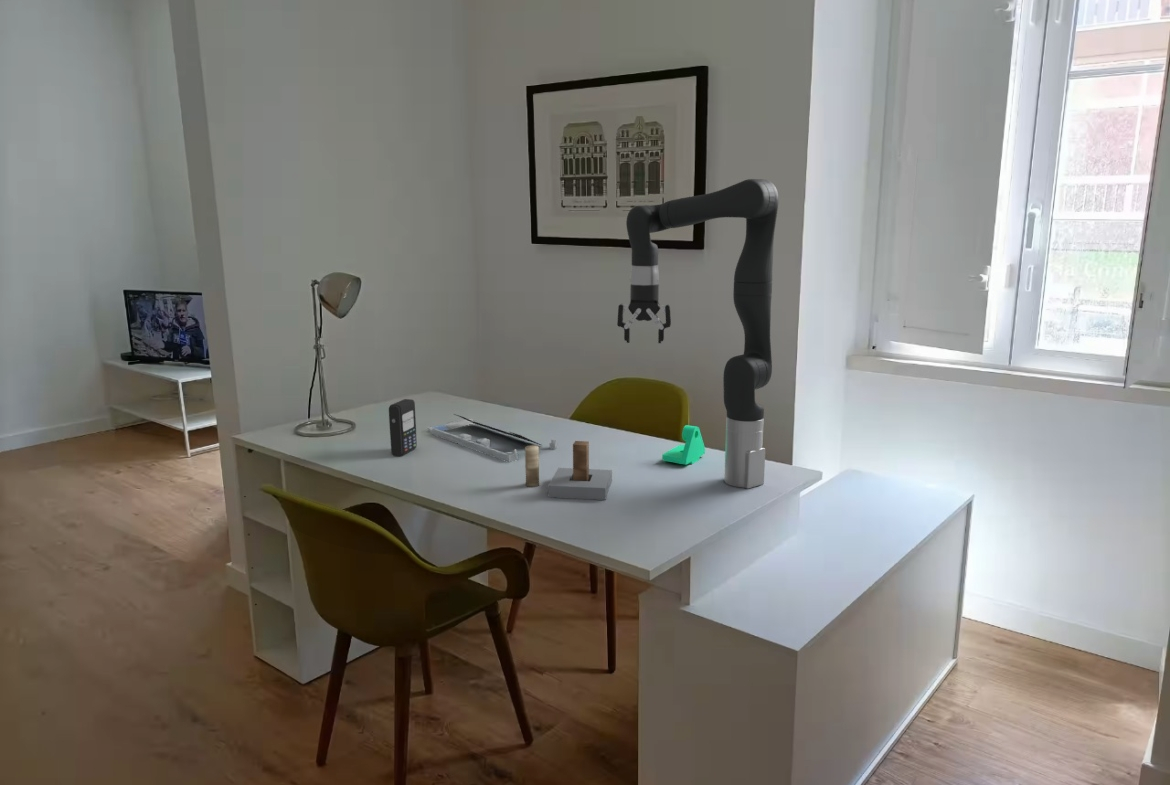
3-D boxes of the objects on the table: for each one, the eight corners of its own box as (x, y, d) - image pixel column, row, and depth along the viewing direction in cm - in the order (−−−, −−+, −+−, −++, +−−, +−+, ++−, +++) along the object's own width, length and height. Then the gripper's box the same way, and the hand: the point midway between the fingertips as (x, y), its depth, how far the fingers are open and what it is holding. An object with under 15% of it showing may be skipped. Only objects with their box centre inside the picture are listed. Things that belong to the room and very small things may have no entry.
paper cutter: (509, 463, 230) (508, 444, 229) (422, 432, 262) (421, 415, 261) (558, 450, 242) (558, 432, 241) (469, 422, 274) (469, 405, 273)
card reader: (402, 457, 235) (399, 406, 231) (389, 456, 236) (386, 405, 233) (418, 448, 243) (416, 399, 240) (406, 447, 244) (404, 398, 241)
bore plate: (611, 481, 214) (611, 469, 214) (605, 499, 201) (605, 488, 200) (558, 478, 216) (558, 467, 216) (548, 497, 203) (548, 485, 202)
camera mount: (680, 453, 239) (681, 418, 236) (704, 457, 234) (705, 422, 232) (660, 463, 229) (661, 427, 226) (686, 468, 225) (686, 431, 222)
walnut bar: (588, 487, 210) (588, 441, 207) (586, 491, 207) (586, 445, 204) (575, 486, 210) (575, 440, 208) (573, 490, 207) (572, 444, 204)
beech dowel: (541, 485, 211) (541, 447, 209) (530, 488, 209) (529, 450, 207) (534, 481, 214) (533, 444, 212) (523, 484, 212) (522, 446, 210)
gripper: (672, 281, 223) (671, 341, 227) (619, 281, 225) (619, 340, 229) (670, 284, 216) (669, 345, 220) (616, 283, 218) (616, 344, 222)
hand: (643, 342), depth 224 cm, fingers open, 8 cm apart
